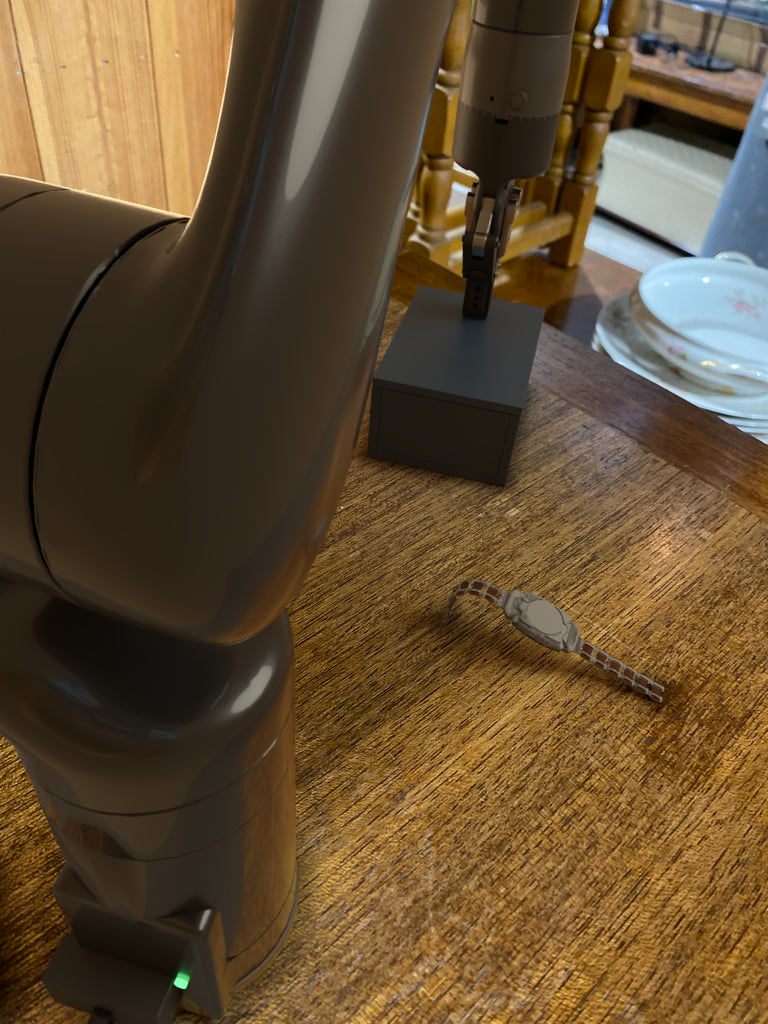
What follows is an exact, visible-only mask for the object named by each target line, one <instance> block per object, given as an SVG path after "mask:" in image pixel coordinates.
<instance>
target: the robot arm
mask: <svg viewBox="0 0 768 1024" xmlns="http://www.w3.org/2000/svg"><path fill="white" fill-rule="evenodd" d="M580 1H581V0H473V3H472V12H471V20H470V25H469V30H468V34H467V39H466V43H465V46H464V51H463V56H462V63H461V72H460V80H459V87H458V96H457V104H456V111H455V119H454V120H455V121H454V128H453V137H452V143H451V144H452V146H451V157H452V159H453V162H454V163H455V164H456V165H457V166H458V167H460V168H461V169H463V170H465V171H470V172H471V173H472V174H474V175H476V177H477V178H478V180H473V182H472V185H471V188H470V191H467V193H466V197H465V203H464V210H463V212H464V213H463V214H464V217H465V218H466V221H465V227H464V234H462V235H461V242H462V244H461V245H462V250H461V251H462V253H461V254H462V256H461V257H462V259H461V260H462V262H461V263H462V269H461V274H462V279H465V280H466V282H465V289H464V293H465V295H464V301H463V308H462V314H463V316H464V317H466V318H471V319H477V320H485V319H486V318H487V315H488V312H489V309H490V304H491V298H492V299H493V292H494V286H495V281H496V278H498V275H499V270H500V269H501V266H502V262H501V258H503V257H504V256H505V254H506V251H507V248H508V245H509V243H510V240H511V238H512V237H511V236H512V232H513V231H512V230H513V225H514V222H515V218H516V215H517V212H518V210H519V208H520V205H521V200H522V195H523V188H522V187H518V186H517V185H515V182H516V180H517V179H520V180H529V179H533V178H537V177H539V176H542V175H543V174H545V173H546V172H547V171H548V170H549V169H550V167H551V163H552V157H553V153H554V148H555V144H556V138H557V134H558V129H559V123H560V118H561V113H562V109H563V104H564V99H565V94H566V89H567V85H568V79H569V73H570V70H571V69H570V68H571V60H572V47H573V46H572V45H573V39H574V33H575V32H574V29H575V26H576V20H577V15H578V12H579V5H580ZM456 4H457V0H235V3H234V13H233V24H232V34H231V35H232V36H231V43H230V49H229V57H228V62H227V69H226V77H225V84H224V89H223V95H222V100H221V105H220V110H219V116H218V121H217V125H216V131H215V135H214V140H213V144H212V148H211V151H210V155H209V159H208V163H207V166H206V171H205V176H204V179H203V182H202V185H201V188H200V192H199V195H198V198H197V201H196V204H195V206H194V208H193V211H192V214H191V215H190V216H188V215H184V214H180V213H175V212H172V211H167V210H163V209H160V208H155V207H151V206H147V205H144V204H138V203H135V202H130V201H126V200H121V199H118V198H115V197H114V198H113V197H109V196H105V195H100V194H97V193H92V192H87V191H84V190H79V189H75V188H70V187H66V186H62V185H58V184H54V183H50V182H45V181H42V180H38V179H33V178H28V177H23V176H17V175H14V174H13V175H12V174H7V173H0V735H1V736H2V737H3V738H4V739H6V740H7V742H9V743H11V744H12V745H13V748H14V750H15V752H16V754H17V756H18V758H19V760H20V762H21V765H22V766H23V769H24V771H25V773H26V775H27V778H28V781H29V782H30V784H31V787H32V789H33V791H34V793H35V796H36V799H37V801H38V803H39V805H40V807H41V810H42V812H43V814H44V816H45V819H46V821H47V824H48V825H49V828H50V830H51V832H52V834H53V836H54V839H55V841H56V843H57V846H58V847H59V850H60V852H61V855H62V857H63V859H64V861H65V863H64V865H63V867H62V869H61V871H60V872H59V874H58V876H57V878H56V879H55V881H54V883H53V884H52V888H51V892H52V896H53V897H54V899H55V901H56V904H57V905H58V907H59V909H60V911H61V913H62V915H63V917H64V920H65V921H66V923H67V925H68V927H69V928H70V931H71V932H70V931H66V932H65V933H64V935H63V937H62V939H61V941H60V942H59V944H58V946H57V948H56V950H55V952H54V954H53V956H52V957H51V959H50V961H49V963H48V965H47V967H46V969H45V970H44V972H43V974H42V976H41V978H40V982H41V983H42V985H43V986H44V988H45V989H46V991H47V992H48V994H49V995H50V997H51V998H52V1000H53V1002H54V1003H57V1004H60V1005H63V1006H67V1007H69V1008H72V1009H74V1010H77V1011H80V1012H84V1013H85V1014H90V1016H89V1019H88V1021H87V1024H172V1022H173V1020H174V1018H175V1015H176V1013H177V1011H178V1008H179V1009H182V1010H185V1011H187V1012H190V1013H193V1014H196V1015H199V1016H202V1017H206V1018H208V1019H212V1020H215V1021H221V1020H222V1019H224V1018H225V1016H226V1014H227V1011H228V1008H229V1006H230V1003H231V1001H232V999H233V997H234V996H235V994H237V993H239V992H240V991H242V990H244V989H245V988H246V987H248V986H250V985H251V984H252V983H253V982H255V981H256V980H257V979H258V978H259V977H261V975H263V973H264V972H266V970H267V969H268V968H269V967H270V966H271V965H272V964H273V962H274V961H275V960H276V958H277V957H278V956H279V954H280V953H281V951H282V949H283V948H284V946H285V945H286V943H287V940H288V938H289V937H290V935H291V932H292V929H293V927H294V924H295V920H296V917H297V912H298V907H299V899H300V885H299V884H300V876H299V867H298V861H297V859H298V858H297V857H298V856H297V794H296V792H297V791H296V790H297V789H296V785H297V781H296V780H297V779H296V648H295V640H294V631H293V627H292V623H291V618H290V616H289V613H288V610H287V607H288V605H289V604H290V603H291V601H292V600H293V598H294V597H295V596H296V595H297V593H298V592H299V590H300V589H301V587H302V586H303V584H304V582H306V579H307V577H308V576H309V573H310V571H311V569H312V567H313V565H314V563H315V561H316V560H317V557H318V555H319V553H320V551H321V549H322V547H323V544H324V542H325V540H326V538H327V536H328V533H329V531H330V528H331V527H332V523H333V520H334V518H335V514H336V513H337V509H338V506H339V504H340V502H341V498H342V496H343V492H344V489H345V485H346V481H347V478H348V475H349V472H350V468H351V465H352V461H353V458H354V454H355V450H356V447H357V444H358V440H359V437H360V432H361V428H362V423H363V419H364V416H365V411H366V406H367V402H368V398H369V393H370V390H371V387H372V378H373V376H374V374H375V369H376V364H377V361H378V360H377V359H378V355H379V351H380V350H379V349H380V345H381V342H382V341H381V340H382V337H383V331H384V328H385V321H386V318H387V313H388V308H389V303H390V299H391V295H392V289H393V284H394V281H395V280H394V279H395V275H396V271H397V267H398V266H397V265H398V261H399V256H400V253H401V248H402V243H403V239H404V238H403V237H404V234H405V228H406V224H407V219H408V214H409V209H410V205H411V200H412V196H413V191H414V187H415V182H416V176H417V171H418V169H419V168H418V167H419V162H420V159H421V158H420V157H421V153H422V149H423V145H424V140H425V134H426V130H427V127H428V122H429V117H430V113H431V108H432V105H433V104H432V103H433V101H434V96H435V92H436V87H437V81H438V77H439V73H440V68H441V65H442V60H443V56H444V51H445V48H446V44H447V40H448V36H449V32H450V28H451V24H452V20H453V16H454V11H455V7H456Z"/></svg>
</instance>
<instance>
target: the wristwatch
mask: <svg viewBox="0 0 768 1024" xmlns="http://www.w3.org/2000/svg"><path fill="white" fill-rule="evenodd" d="M471 585H472V586H471ZM483 587H484V589H483ZM486 588H487V590H486ZM467 593H468V595H470V596H474V597H480V596H483V599H485V601H487V602H489V603H491V604H496V605H497V607H499V608H501V609H502V612H503V615H504V617H505V618H506V619H507V620H510V621H511V625H512V626H513V627H514V628H515V629H516V630H518V632H520V633H521V634H522V635H524V636H525V637H527V638H528V639H529V640H531V641H533V642H534V643H536V644H537V645H540V646H542V647H544V648H545V649H549V650H551V651H554V652H557V653H560V652H561V651H562V652H563V653H565V654H571V653H575V654H577V655H579V656H580V658H581V659H583V660H585V661H587V662H592V663H593V665H594V666H595V667H596V668H598V669H600V670H606V671H607V673H608V674H609V676H611V677H614V678H616V679H617V678H619V679H620V680H621V682H622V683H623V684H625V685H627V686H628V687H634V688H635V690H636V691H637V692H638V693H640V694H642V695H647V696H648V697H649V699H651V700H652V701H654V702H656V703H658V704H659V703H663V700H664V699H663V697H662V695H661V693H663V692H665V687H664V685H662V684H661V683H659V682H657V681H655V680H651V678H650V677H648V676H647V675H646V674H645V673H642V672H641V671H640V672H639V671H637V670H636V669H635V668H633V666H630V665H628V664H627V663H623V661H622V660H620V659H619V658H617V657H616V656H613V655H610V654H609V653H608V652H607V651H605V650H603V649H602V648H599V647H596V646H595V644H593V643H591V642H590V641H588V640H586V639H584V637H582V636H580V633H581V631H580V627H579V626H578V625H577V623H574V622H572V621H571V620H572V617H571V616H570V615H569V613H567V612H566V611H564V610H562V609H561V608H559V607H558V606H557V605H555V604H553V603H552V602H551V601H549V600H547V599H545V598H543V597H541V596H539V595H537V594H536V593H534V592H530V591H527V590H524V592H522V591H521V590H519V589H514V590H511V592H508V591H506V590H502V589H501V587H498V586H497V585H496V584H494V583H491V582H488V581H486V580H484V579H479V578H478V579H477V578H473V579H471V578H469V579H466V580H465V579H464V580H462V581H460V582H459V583H458V584H457V585H455V586H454V587H453V588H452V592H451V595H450V596H449V597H448V600H447V603H446V609H447V612H446V614H445V615H444V616H443V620H442V623H443V624H446V623H447V622H448V621H449V619H450V616H451V614H452V612H453V610H454V608H455V606H456V602H457V597H462V596H464V595H465V594H467ZM497 594H499V595H500V596H501V597H500V598H499V599H498V598H497ZM592 652H593V654H592ZM620 668H621V669H620ZM636 681H637V682H636ZM647 686H648V687H647ZM650 689H651V690H650Z"/></svg>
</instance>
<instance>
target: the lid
mask: <svg viewBox="0 0 768 1024" xmlns="http://www.w3.org/2000/svg"><path fill="white" fill-rule="evenodd" d="M464 295H465V292H459V291H455V290H447V289H442V288H437V287H433V286H432V287H431V286H425V285H419V286H418V288H417V290H416V291H415V294H414V296H413V298H412V299H411V301H410V303H409V306H408V307H407V309H406V311H405V313H404V315H403V317H402V319H401V321H400V323H399V325H398V326H397V329H396V331H395V333H394V334H393V337H392V339H391V340H390V342H389V344H388V347H387V348H386V350H385V352H384V354H383V356H382V358H381V360H380V362H379V364H378V365H377V368H376V370H375V371H374V373H373V377H372V381H371V387H372V386H375V387H380V388H385V389H389V390H394V391H399V392H404V393H409V394H414V395H419V396H424V397H429V398H433V399H438V400H443V401H448V402H453V403H458V404H463V405H468V406H473V407H477V408H482V409H487V410H492V411H497V412H502V413H507V414H512V415H517V416H521V417H522V413H523V409H524V405H525V402H526V401H525V400H526V396H527V392H528V387H529V384H530V380H531V374H532V371H533V365H534V361H535V356H536V354H537V353H536V352H537V348H538V344H539V339H540V335H541V330H542V326H543V322H544V317H545V313H546V307H540V306H536V305H535V306H534V305H529V304H523V303H520V302H519V303H518V302H513V301H507V300H502V299H498V298H496V299H495V298H493V297H492V298H491V304H490V309H489V312H488V315H487V318H486V319H485V320H477V319H471V318H466V317H464V316H463V314H462V308H463V301H464ZM528 383H529V384H528Z"/></svg>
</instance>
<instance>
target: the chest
mask: <svg viewBox="0 0 768 1024" xmlns="http://www.w3.org/2000/svg"><path fill="white" fill-rule="evenodd" d="M529 384H530V382H529V383H528V385H529ZM370 393H371V394H370V406H369V407H370V408H369V420H368V432H367V433H368V435H367V449H366V457H368V458H372V459H377V460H381V461H385V462H391V463H395V464H399V465H404V466H410V467H413V468H418V469H423V470H426V471H427V470H428V471H432V472H436V473H441V474H446V475H450V476H455V477H459V478H464V479H467V480H473V481H477V482H481V483H487V484H492V485H496V486H500V487H506V484H507V480H508V476H509V471H510V467H511V462H512V458H513V454H514V450H515V445H516V440H517V436H518V431H519V427H520V423H521V418H522V415H521V416H517V415H512V414H507V413H502V412H497V411H492V410H487V409H482V408H477V407H473V406H468V405H463V404H458V403H453V402H448V401H443V400H438V399H433V398H429V397H424V396H419V395H414V394H409V393H404V392H399V391H394V390H389V389H385V388H380V387H375V386H372V385H371V391H370Z"/></svg>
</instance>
